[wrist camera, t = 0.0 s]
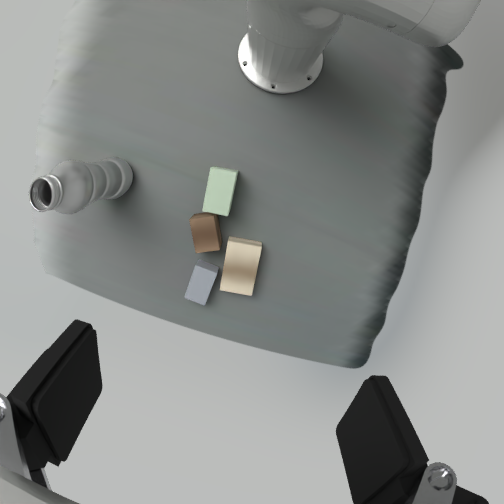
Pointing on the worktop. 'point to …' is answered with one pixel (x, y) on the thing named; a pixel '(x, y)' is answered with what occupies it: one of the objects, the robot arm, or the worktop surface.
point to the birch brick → (240, 265)
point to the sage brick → (220, 190)
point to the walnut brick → (206, 232)
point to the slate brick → (201, 282)
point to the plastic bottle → (80, 184)
